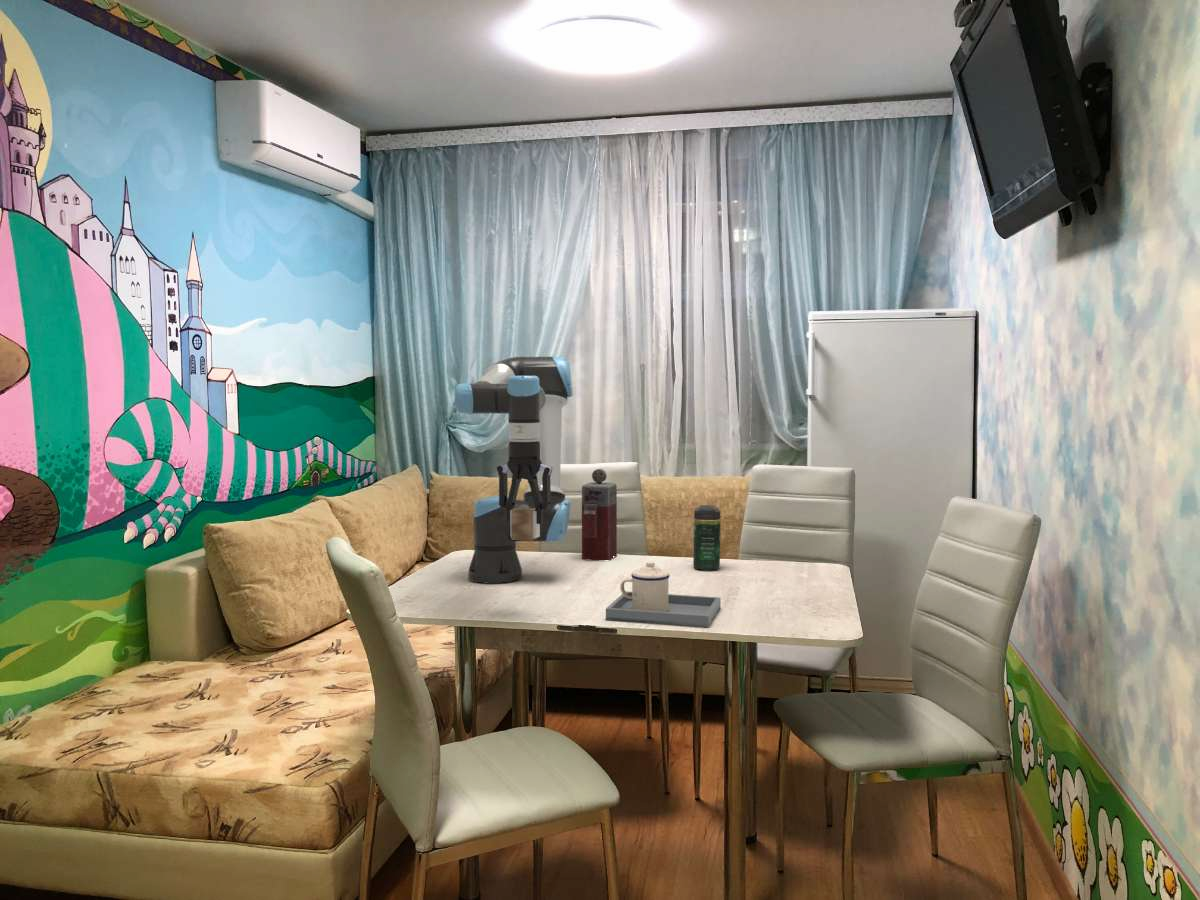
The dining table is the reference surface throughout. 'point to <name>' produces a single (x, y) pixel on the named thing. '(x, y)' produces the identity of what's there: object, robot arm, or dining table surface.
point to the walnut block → (522, 524)
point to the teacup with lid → (648, 588)
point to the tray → (679, 611)
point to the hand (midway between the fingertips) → (525, 536)
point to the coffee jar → (706, 538)
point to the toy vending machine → (599, 518)
